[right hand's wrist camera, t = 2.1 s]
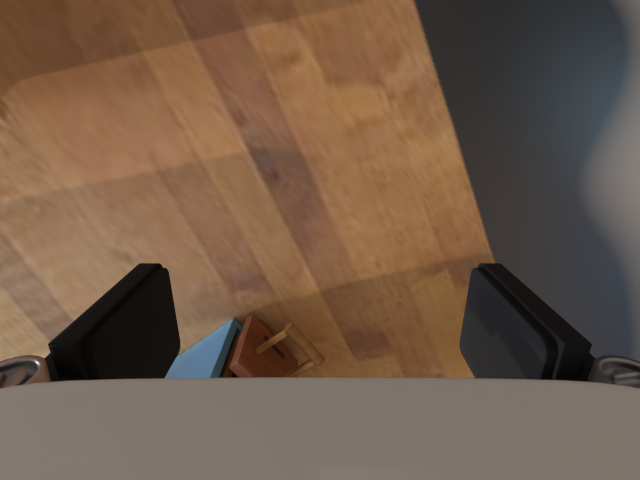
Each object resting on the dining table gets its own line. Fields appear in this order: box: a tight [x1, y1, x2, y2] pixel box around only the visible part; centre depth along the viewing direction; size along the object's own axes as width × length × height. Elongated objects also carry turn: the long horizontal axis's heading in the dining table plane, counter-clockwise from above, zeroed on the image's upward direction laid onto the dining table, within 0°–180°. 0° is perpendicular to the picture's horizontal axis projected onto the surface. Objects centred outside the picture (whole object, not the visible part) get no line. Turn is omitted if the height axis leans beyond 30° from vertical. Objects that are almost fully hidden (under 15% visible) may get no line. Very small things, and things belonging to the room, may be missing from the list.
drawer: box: [219, 314, 325, 378], centre depth 42 cm, size 18×9×9 cm, turn 127°
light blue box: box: [165, 318, 243, 378], centre depth 43 cm, size 14×10×11 cm
